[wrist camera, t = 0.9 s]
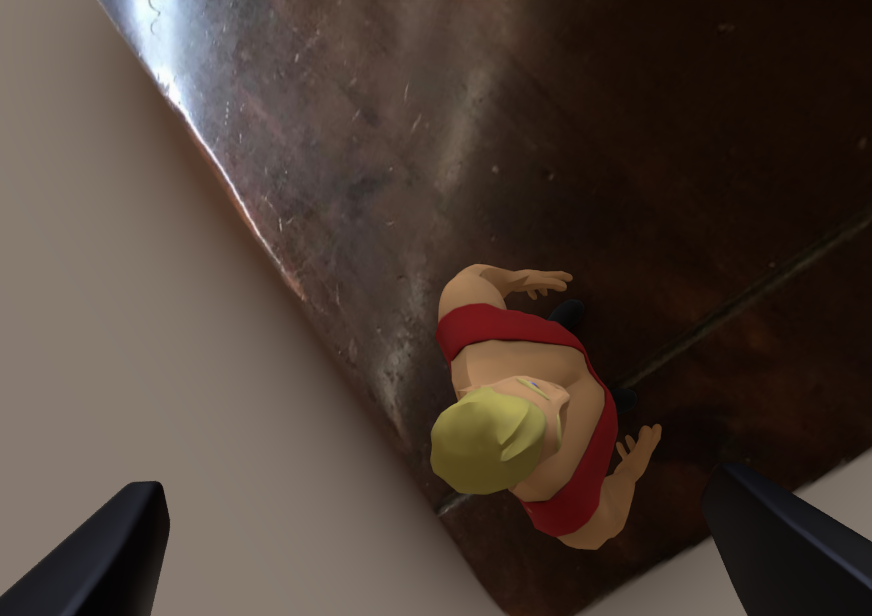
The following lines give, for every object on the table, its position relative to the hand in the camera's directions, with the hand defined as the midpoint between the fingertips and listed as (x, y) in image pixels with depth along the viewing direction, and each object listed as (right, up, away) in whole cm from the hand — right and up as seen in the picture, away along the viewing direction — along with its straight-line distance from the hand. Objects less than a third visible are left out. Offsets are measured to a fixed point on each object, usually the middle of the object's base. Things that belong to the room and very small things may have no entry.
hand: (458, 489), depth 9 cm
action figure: (+6, +1, +15) cm, 16 cm away
